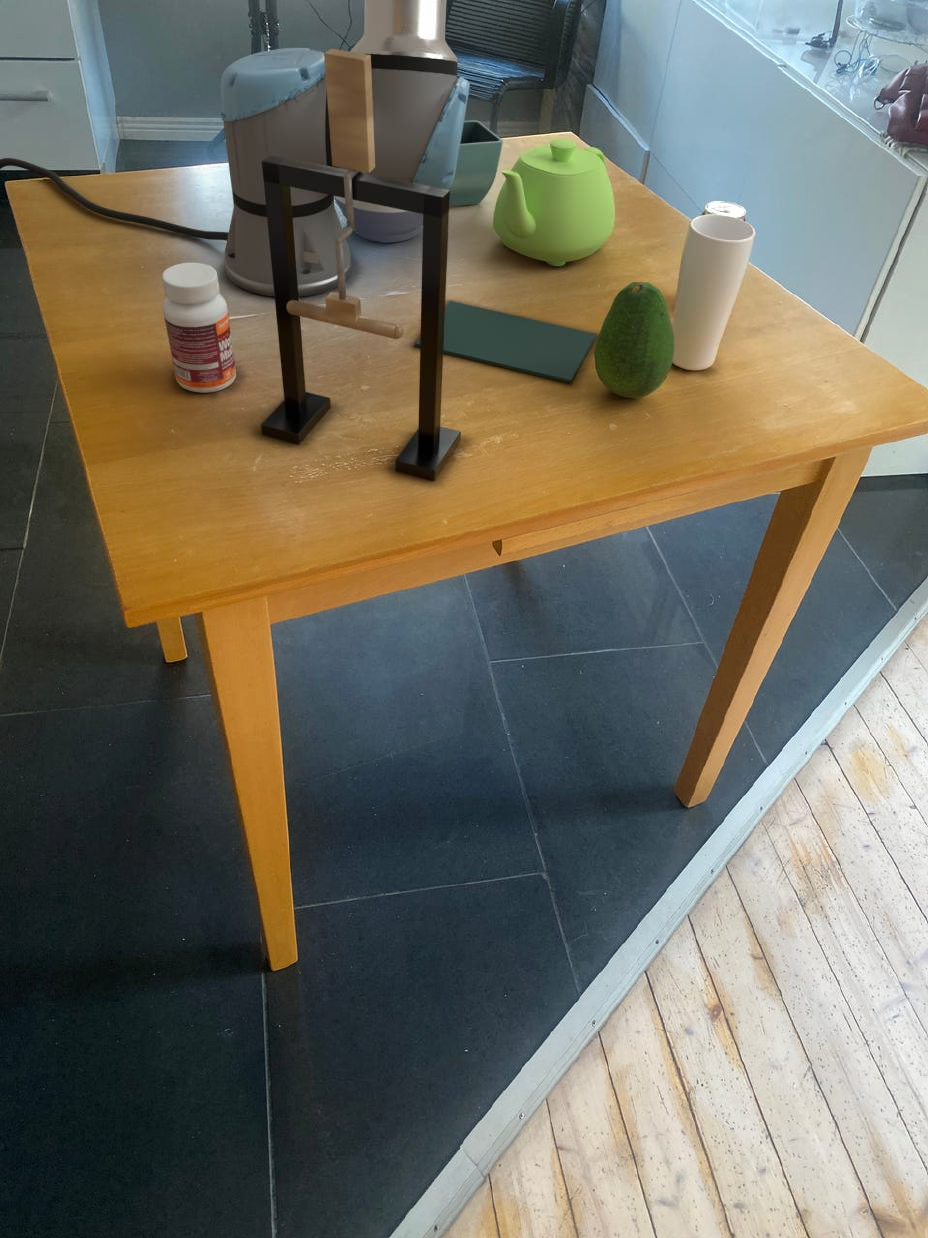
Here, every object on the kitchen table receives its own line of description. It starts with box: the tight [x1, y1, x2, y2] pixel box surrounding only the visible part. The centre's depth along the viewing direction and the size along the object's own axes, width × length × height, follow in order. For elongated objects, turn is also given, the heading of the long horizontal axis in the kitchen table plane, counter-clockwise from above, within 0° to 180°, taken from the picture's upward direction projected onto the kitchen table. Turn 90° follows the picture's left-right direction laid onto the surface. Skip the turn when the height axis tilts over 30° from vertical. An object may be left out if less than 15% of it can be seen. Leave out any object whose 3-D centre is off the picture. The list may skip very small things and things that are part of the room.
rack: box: [260, 155, 462, 482], centre depth 84 cm, size 18×7×25 cm, turn 70°
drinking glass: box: [671, 214, 756, 371], centre depth 101 cm, size 7×7×15 cm
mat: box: [414, 300, 598, 384], centre depth 107 cm, size 18×11×1 cm, turn 70°
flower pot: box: [447, 119, 504, 207], centre depth 131 cm, size 9×9×9 cm
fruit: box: [593, 281, 675, 400], centre depth 96 cm, size 8×8×12 cm
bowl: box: [334, 196, 423, 244], centre depth 124 cm, size 14×14×8 cm
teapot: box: [492, 138, 616, 267], centre depth 120 cm, size 22×15×13 cm
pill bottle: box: [161, 262, 237, 394], centre depth 94 cm, size 6×6×11 cm
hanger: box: [287, 48, 404, 340], centre depth 75 cm, size 11×6×20 cm, turn 70°
